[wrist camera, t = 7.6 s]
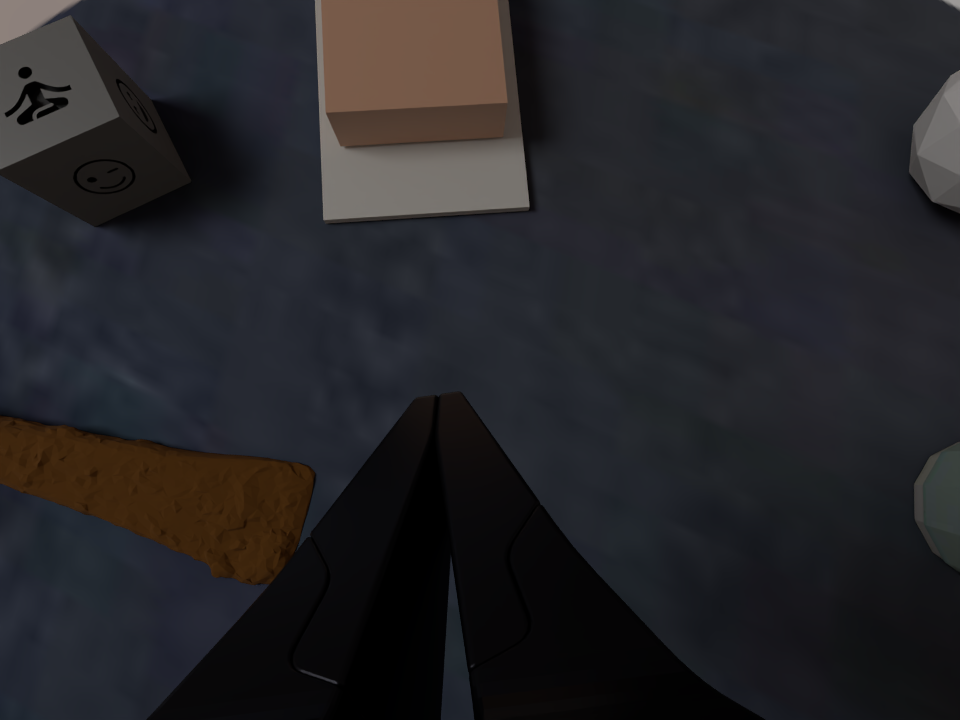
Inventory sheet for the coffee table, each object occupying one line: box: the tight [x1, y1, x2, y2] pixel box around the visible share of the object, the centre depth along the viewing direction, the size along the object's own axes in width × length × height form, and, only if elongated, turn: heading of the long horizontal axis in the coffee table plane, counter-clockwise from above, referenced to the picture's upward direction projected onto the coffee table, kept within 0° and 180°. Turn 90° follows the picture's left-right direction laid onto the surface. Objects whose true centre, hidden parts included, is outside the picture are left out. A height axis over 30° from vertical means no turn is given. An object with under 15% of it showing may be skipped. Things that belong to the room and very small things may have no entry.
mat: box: [315, 0, 530, 224], centre depth 24 cm, size 13×10×1 cm
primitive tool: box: [0, 415, 315, 585], centre depth 20 cm, size 19×6×4 cm, turn 77°
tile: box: [321, 0, 508, 146], centre depth 23 cm, size 3×8×10 cm
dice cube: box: [0, 15, 192, 227], centre depth 21 cm, size 5×5×5 cm
